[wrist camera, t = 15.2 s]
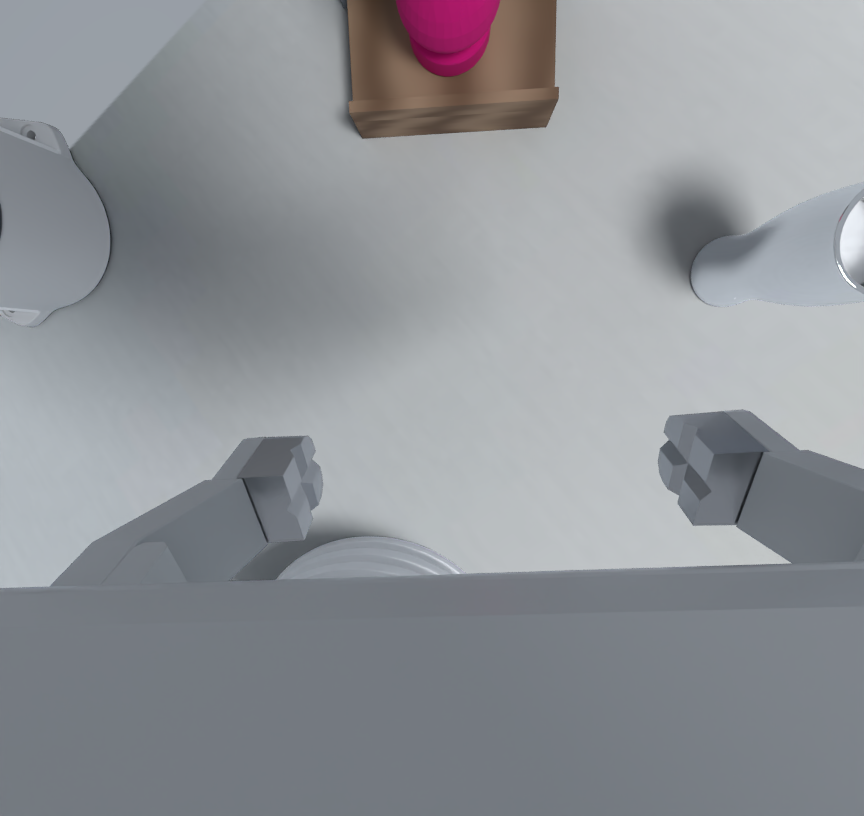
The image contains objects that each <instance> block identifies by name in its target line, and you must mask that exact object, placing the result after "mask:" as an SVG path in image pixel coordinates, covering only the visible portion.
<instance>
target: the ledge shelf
mask: <svg viewBox="0 0 864 816" xmlns="http://www.w3.org/2000/svg"><path fill="white" fill-rule="evenodd" d="M341 2H342V5H343V8H348V25H349V42H350V59H351V76H352V93H353V101H349V113H350V115H351V117H352V119H353V121H354V123H355V125H356V127H357V129H358V131H359V133H360V134H361V136H362V138H378V137H394V136H410V135H426V134H442V133H458V132H474V131H490V130H506V129H522V128H539V127H546V126H547V124H548V122H549V120H550V117H551V115H552V113H553V110H554V108H555V106H556V103H557V101H558V97H559V87H555V43H556V0H500V4H499V8H498V11H497V13H496V16H495V19H494V21H493V22H492V24H491V29H490V37H489V41H488V44H487V47H486V50H485V52H484V54H483V56H482V57H481V59H480V60H479V61H478V62H477V63H476V64H475V66H473V67H472V68H471V69H470V70H468V71H466V72H464V73H462V74H460V75H456V76H451V77H444V76H439V75H436V74H434V73H431V72H430V71H428V70H427V69H425V68H424V67H423V66H422V65H421V63H420V62H419V61H418V60H417V58H416V56H415V55H414V52H413V50H412V47H411V43H410V38H409V33H408V32H407V30H406V28H405V27H404V25H403V23H402V20H401V18H400V15H399V13H398V9H397V4H396V0H341Z"/></svg>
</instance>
